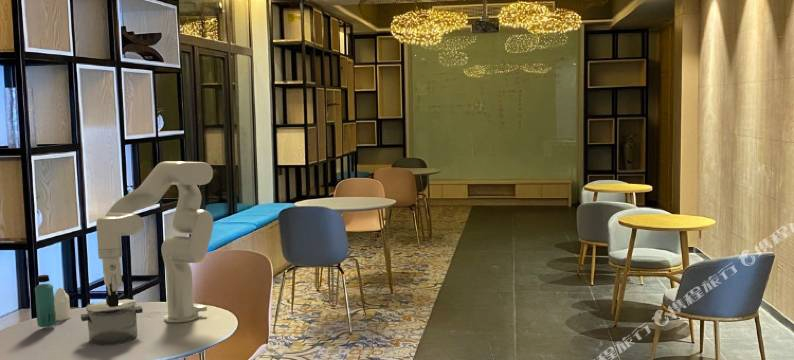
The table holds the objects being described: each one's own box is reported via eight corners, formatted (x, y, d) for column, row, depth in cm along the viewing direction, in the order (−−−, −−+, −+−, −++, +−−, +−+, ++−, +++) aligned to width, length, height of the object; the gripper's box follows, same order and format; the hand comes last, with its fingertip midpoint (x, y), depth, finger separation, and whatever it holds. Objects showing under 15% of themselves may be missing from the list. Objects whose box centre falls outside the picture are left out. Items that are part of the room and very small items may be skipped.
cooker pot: (139, 327, 285) (137, 297, 284) (147, 339, 270) (145, 307, 269) (80, 336, 276) (78, 305, 275) (85, 349, 261) (83, 316, 260)
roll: (56, 290, 295) (48, 288, 299) (58, 321, 296) (51, 319, 300) (71, 287, 300) (63, 285, 303) (73, 317, 301) (66, 315, 304)
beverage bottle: (49, 331, 283) (45, 277, 281) (33, 330, 284) (29, 277, 282) (60, 326, 289) (56, 273, 287) (44, 325, 291) (40, 273, 289)
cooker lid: (132, 301, 283) (131, 291, 283) (139, 306, 268) (138, 296, 268) (84, 307, 275) (83, 297, 275) (88, 313, 261) (87, 302, 261)
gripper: (124, 255, 259) (128, 309, 261) (118, 248, 272) (121, 299, 274) (100, 257, 255) (104, 312, 257) (95, 250, 269) (99, 302, 270)
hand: (113, 305), depth 265 cm, fingers closed
